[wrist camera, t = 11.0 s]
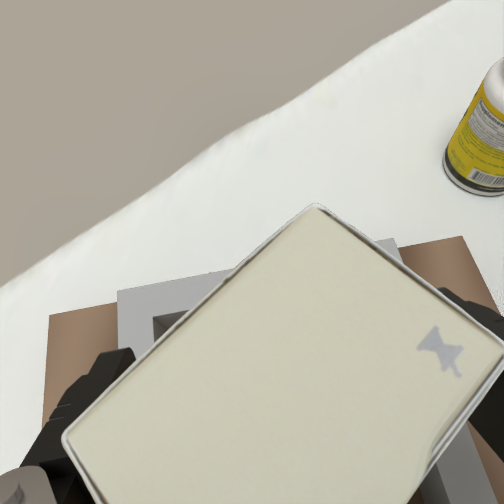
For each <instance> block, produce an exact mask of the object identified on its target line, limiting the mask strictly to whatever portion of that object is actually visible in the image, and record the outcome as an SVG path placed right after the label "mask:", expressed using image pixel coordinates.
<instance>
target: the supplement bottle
mask: <svg viewBox="0 0 504 504" xmlns="http://www.w3.org/2000/svg"><path fill="white" fill-rule="evenodd" d="M443 164H444V168H445V171H446V173H447V174H448V176H449V177H450V178H451V179H452V180H453V181H454V182H455V183H456V184H457V185H459V186H460V187H461V188H463V189H465V190H467V191H469V192H472V193H475V194H479V195H485V196H494V195H501V194H504V57H503V58H501V59H500V60H499V61H497V62H496V63H495V64H494V65H493V66H492V67H491V68H490V70H489V71H488V72H487V74H486V76H485V78H484V79H483V81H482V83H481V85H480V87H479V89H478V91H477V92H476V94H475V96H474V98H473V100H472V102H471V103H470V105H469V107H468V109H467V111H466V112H465V114H464V116H463V118H462V120H461V122H460V123H459V125H458V127H457V129H456V131H455V133H454V135H453V136H452V138H451V140H450V142H449V144H448V146H447V148H446V149H445V152H444V156H443Z"/></svg>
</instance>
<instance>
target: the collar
mask: <svg viewBox="0 0 504 504" xmlns="http://www.w3.org/2000/svg"><path fill="white" fill-rule="evenodd" d="M374 242H375V243H377V244H378V245H379V246H381V247H382V248H383V249H385V250H386V251H387V252H389V253H390V254H391V255H393V256H394V257H395V258H397V259H398V260H399V261H400V262H402V263H403V261H402V259H401V256H400V253H399V251H398V248H397V246H396V243H395V241H394V238H390V239H385V240H380V241H374ZM232 270H233V269H229V270H223V271H218V272H213V273H208V274H203V275H197V276H192V277H187V278H182V279H177V280H171V281H166V282H161V283H156V284H151V285H145V286H140V287H135V288H130V289H125V290H119V291H117V310H118V349H121V348H126V347H130V348H131V349H132V350H133V352H134V355H135V357H136V360H137V359H138V358H139V357H140V356H141V355H142V354H143V353H144V352H145V351H146V350H147V349H148V348H149V347H151V346H152V345H153V344H154V343H155V342H156V341H157V340H158V339H159V338H160V337H161V336H162V335H163V334H164V333H165V332H166V331H167V330H168V329H169V328H170V327H171V326H173V325H174V324H175V323H176V322H177V321H178V320H179V319H180V318H181V317H182V316H183V315H184V314H185V313H186V312H188V311H189V310H190V309H191V308H192V307H193V306H194V305H195V304H196V303H197V302H198V301H199V300H201V299H202V298H203V297H204V296H205V295H206V294H207V293H208V292H209V291H210V290H211V289H212V288H214V287H215V286H216V285H217V284H218V283H219V282H220V281H221V280H222V279H223V278H224V277H225V276H226V275H227V274H229V273H230V272H231V271H232ZM419 488H420V491H421V494H422V497H423V500H424V503H425V504H498V502H497V500H496V497H495V495H494V492H493V489H492V487H491V484H490V482H489V479H488V477H487V474H486V472H485V469H484V467H483V464H482V462H481V459H480V456H479V454H478V451H477V449H476V446H475V444H474V441H473V439H472V436H471V434H470V431H469V429H468V426H467V423H466V422H465V424H464V425H463V427H462V428H461V429H460V431H459V432H458V434H457V435H456V436H455V438H454V439H453V440H452V441H451V443H450V444H449V445H448V447H447V448H446V449H445V451H444V452H443V453H442V455H441V456H440V457H439V459H438V460H437V461H436V463H435V464H434V466H433V467H432V469H431V470H430V471H429V473H428V474H427V476H426V477H425V479H424V480H423V481H422V483H421V484H420V486H419Z"/></svg>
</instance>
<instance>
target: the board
mask: <svg viewBox="0 0 504 504" xmlns="http://www.w3.org/2000/svg"><path fill="white" fill-rule="evenodd" d="M398 251H399V253H400V256H401V259H402V261H403V264H404V265H405V266H407V267H408V268H409V269H411V270H412V271H413V272H414V273H416V274H417V275H418V276H420V277H421V278H423V279H424V280H425V281H427V282H428V283H429V284H431V285H432V286H433V287H435V288H439V287H446V288H447V289H449V290H450V291H452V292H453V293H454V294H456V295H457V296H459V297H460V298H461V299H463V300H464V301H472V302H474V303H477V304H480V305H483V306H486V307H489V308H491V309H492V310H494V311H495V312H497V313H498V314H500V312H499V310H498V308H497V306H496V304H495V302H494V300H493V298H492V296H491V294H490V292H489V290H488V288H487V286H486V284H485V282H484V280H483V278H482V275H481V273H480V271H479V269H478V267H477V265H476V263H475V261H474V259H473V257H472V255H471V253H470V251H469V249H468V247H467V245H466V243H465V241H464V239H463V237H462V236H458V237H453V238H447V239H442V240H437V241H432V242H427V243H422V244H416V245H411V246H406V247H401V248H398ZM500 315H501V314H500ZM116 349H118V310H117V302H115V303H110V304H105V305H99V306H94V307H89V308H84V309H79V310H73V311H68V312H63V313H58V314H53V315H49V329H48V344H47V358H46V373H45V388H44V403H43V418H42V429H43V427H44V425H45V424H46V422H49V417H50V416H51V414H52V412H53V411H54V409H55V408H57V404H58V402H59V401H60V399H61V397H62V396H63V394H64V392H65V391H66V389H68V388H69V387H70V386H71V385H72V384H73V383H74V382H75V381H76V380H77V379H78V378H80V377H81V376H82V375H86V374H88V373H89V371H90V369H91V367H92V366H93V364H94V362H95V360H96V358H97V357H98V355H99V354H100V353H101V352H106V351H111V350H116ZM466 423H467V426H468V429H469V431H470V434H471V436H472V439H473V441H474V444H475V446H476V449H477V451H478V454H479V456H480V459H481V462H482V464H483V467H484V469H485V472H486V474H487V477H488V479H489V482H490V484H491V487H492V489H493V492H494V495H495V497H496V500H497V502H498V504H504V463H503V462H502V460H501V459H500V458H499V457H498V456H497V454H496V453H495V452H494V451H493V450H492V448H491V447H490V446H489V445H488V444H487V442H486V441H485V440H484V439H483V438H482V436H481V435H480V434H479V433H478V432H477V431H476V429H475V428H474V427H473V426H472V425H471V423H470V422H469V421H468V420H467V421H466ZM407 504H425V503H424V500H423V497H422V494H421V491H420V488H419V487H418V488H417V490H416V491H415V493H414V494H413V496H412V497H411V498H410V500H409V501H408V503H407Z"/></svg>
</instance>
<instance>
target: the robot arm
mask: <svg viewBox="0 0 504 504" xmlns="http://www.w3.org/2000/svg"><path fill="white" fill-rule="evenodd" d="M436 289H437V290H438V291H439V292H441V293H442V294H443V295H444V296H446V297H447V298H448V299H449V300H451V301H452V302H453V303H455V304H456V305H458V306H459V307H460V308H462V309H463V310H464V311H465V312H467V313H468V314H469V315H470V316H471V317H473V318H474V319H475V320H476V321H477V322H479V323H480V324H481V325H483V326H484V327H485V328H487V329H488V330H490V331H491V332H493V333H494V334H495V335H496V336H498V337H499V338H500V339H501V340H503V341H504V317H503V316H501V315H500V314H498V313H497V312H495V311H494V310H492V309H491V308H489V307H486V306H483V305H480V304H477V303H474V302H472V301H464V300H463V299H461V298H460V297H459V296H457V295H456V294H454V293H453V292H452V291H450V290H449V289H447V288H446V287H439V288H436ZM135 361H136V357H135V355H134V352H133V350H132V349H131V348H130V347H126V348H121V349H116V350H111V351H106V352H101V353H100V354H99V355H98V357H97V358H96V360H95V362H94V364H93V366H92V367H91V369H90V371H89V373H88V374H86V375H82V376H81V377H80V378H78V379H77V380H76V381H75V382H74V383H73V384H72V385H71V386H70V387H69V388H68V389H66V391H65V392H64V394H63V396H62V397H61V399H60V401H59V402H58V404H57V408H55V409H54V411H53V412H52V414H51V416H50V417H49V422H46V424H45V425H44V427H43V429H42V430H41V432H40V434H39V435H38V437H37V439H36V440H35V442H34V444H33V445H32V447H31V449H30V450H29V452H28V454H27V455H26V457H25V458H24V460H23V462H22V463H21V465H20V467H19V468H16V469H13V470H11V471H9V472H6V473H5V474H3V475H1V476H0V504H96V503H95V501H94V499H93V497H92V495H91V494H90V492H89V490H88V488H87V487H86V485H85V482H84V480H83V478H82V476H81V475H80V473H79V471H78V470H77V468H76V467H75V465H74V463H73V462H72V460H71V459H70V457H69V456H68V454H67V452H66V451H65V449H64V448H63V445H62V442H61V436H62V434H63V432H64V430H65V429H66V428H67V427H68V426H70V425H71V424H72V423H73V422H74V421H75V420H76V419H77V418H78V417H79V416H80V415H81V414H82V413H83V412H84V411H85V410H86V409H87V408H88V407H89V406H90V405H91V404H92V403H93V402H94V401H95V400H96V399H97V398H98V397H99V396H100V395H101V394H102V393H103V392H104V391H105V390H106V389H107V388H108V387H109V386H110V385H111V384H112V383H113V382H114V381H116V380H117V379H118V378H119V377H120V376H121V375H122V374H123V373H124V372H125V371H126V370H127V369H128V368H129V367H130V366H131V365H132V364H133V363H134V362H135ZM467 420H468V421H469V422H470V423H471V425H472V426H473V427H474V428H475V429H476V431H477V432H478V433H479V434H480V435H481V436H482V438H483V439H484V440H485V441H486V442H487V444H488V445H489V446H490V447H491V448H492V450H493V451H494V452H495V453H496V454H497V456H498V457H499V458H500V459H501V460H502V462H503V463H504V370H503V371H502V373H501V374H500V375H499V377H498V378H497V380H496V381H495V382H494V384H493V385H492V386H491V388H490V389H489V391H488V392H487V394H486V395H485V397H484V398H483V400H482V401H481V402H480V403H479V405H478V406H477V407H476V409H475V410H474V411H473V413H472V414H471V415H470V417H469V418H468V419H467Z"/></svg>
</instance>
